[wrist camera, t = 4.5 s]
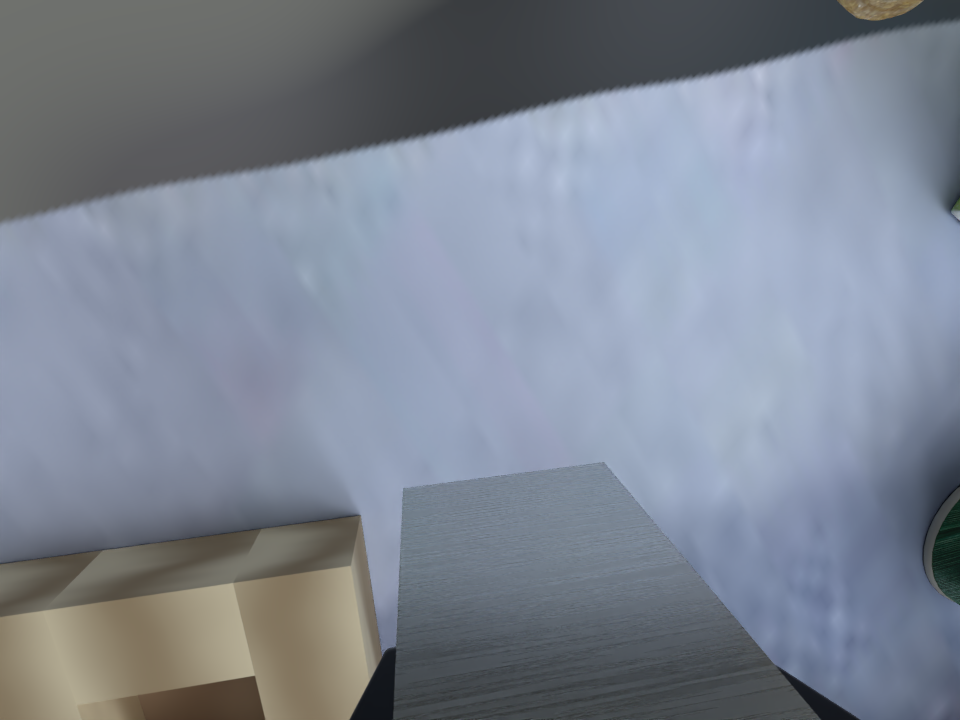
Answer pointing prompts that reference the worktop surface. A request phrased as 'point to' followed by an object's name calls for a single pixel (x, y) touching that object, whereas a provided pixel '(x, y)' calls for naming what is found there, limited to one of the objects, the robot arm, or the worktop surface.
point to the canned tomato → (945, 549)
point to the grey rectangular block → (564, 611)
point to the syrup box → (956, 210)
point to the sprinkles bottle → (878, 8)
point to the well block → (193, 629)
